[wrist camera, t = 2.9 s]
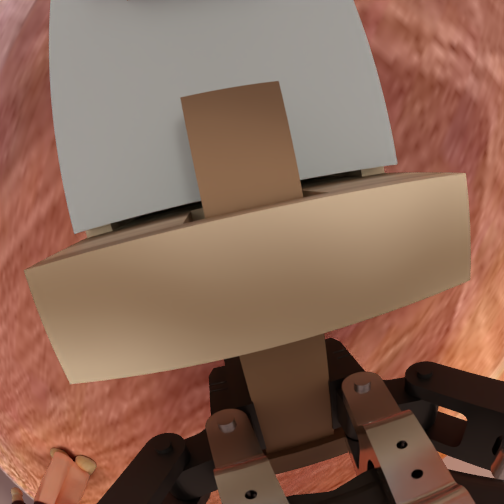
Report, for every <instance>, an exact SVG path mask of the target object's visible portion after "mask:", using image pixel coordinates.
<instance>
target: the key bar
mask: <svg viewBox="0 0 504 504" xmlns="http://www.w3.org/2000/svg"><path fill="white" fill-rule="evenodd" d="M180 99H181V104H182V110H183V115H184V120H185V125H186V130H187V135H188V140H189V145H190V150H191V155H192V160H193V164H194V169H195V174H196V179H197V183H198V188H199V192H200V197H201V202H202V206H203V211H204V215H205V219H206V218H210V217H215V216H219V215H224V214H228V213H232V212H237V211H241V210H246V209H251V208H255V207H260V206H265V205H269V204H274V203H279V202H284V201H289V200H294V199H299V198H303V193H302V188H301V182H300V177H299V172H298V167H297V162H296V157H295V152H294V147H293V142H292V137H291V133H290V128H289V123H288V119H287V114H286V110H285V106H284V101H283V97H282V93H281V88H280V84H279V81H273V82H265V83H257V84H250V85H243V86H237V87H231V88H225V89H219V90H214V91H209V92H204V93H199V94H194V95H189V96H185V97H180ZM239 357H240V361H241V365H242V368H243V372H244V376H245V379H246V383H247V386H248V390H249V394H250V397H251V401H252V402H253V403H254V407H255V410H256V414H257V417H258V421H259V424H260V428H261V431H262V435H263V438H264V441H265V445H266V448H267V449H263V450H262V451H263V453H264V454H265V455H266V456H267V458H268V461H269V463H270V465H271V467H272V469H273V471H274V473H275V474H279V473H283V472H287V471H291V470H295V469H298V468H302V467H305V466H308V465H312V464H315V463H318V462H321V461H325V460H328V459H331V458H334V457H336V456H339V455H342V454H345V453H348V449H347V446H346V443H345V439H344V430H343V429H342V427H339V428H336V429H333V428H332V417H331V406H330V395H329V385H328V380H329V373H328V363H327V354H326V345H325V337H324V333H323V334H320V335H316V336H313V337H309V338H306V339H302V340H299V341H295V342H292V343H288V344H284V345H280V346H277V347H273V348H269V349H265V350H261V351H257V352H253V353H249V354H245V355H240V356H239Z"/></svg>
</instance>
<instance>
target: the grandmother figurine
mask: <svg viewBox="0 0 504 504" xmlns="http://www.w3.org/2000/svg"><path fill="white" fill-rule="evenodd" d="M50 454H51V457H52V460H51V463H50V465H49V466H48V468H47V470H46V472H45V474H44V476H43V479H42V481H41V484H40V486H39V489H38V491H37V493H36V496H35V499H34V504H79V503H80V500H81V498H82V496H83V494H84V491H85V489H86V486H87V483H88V480H89V478H90V475H91V474H92V473H93V471H94V470H95V468H96V464H95V462H94V461H93V460H91V459H90V458H87V457H85V456H77V457H76V458H75V462H74V461H73V460H72V459H71V458H70V457H69V455H68V454H67V453H66V452H64V451H63V450H60V449H57V448H52V449H51V450H50ZM11 493H12V495H13V496H12V504H25V503H24V501H23V499H22V496H23V494H22V491H21V490H20V489H18V488H16V487H14V488H12V490H11Z"/></svg>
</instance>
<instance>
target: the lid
mask: <svg viewBox="0 0 504 504" xmlns="http://www.w3.org/2000/svg"><path fill="white" fill-rule="evenodd" d="M49 68H50V88H51V101H52V112H53V122H54V130H55V138H56V145H57V152H58V158H59V164H60V170H61V176H62V181H63V186H64V191H65V196H66V201H67V205H68V210H69V214H70V218H71V223H72V227H73V231H74V234H76V233H79V232H82V231H86V230H89V229H93V228H96V227H100V226H103V225H107V224H110V223H114V222H118V221H121V220H125V219H129V218H133V217H136V216H140V215H144V214H148V213H152V212H156V211H160V210H164V209H168V208H172V207H176V206H180V205H184V204H188V203H192V202H197V201H201V197H200V192H199V188H198V183H197V179H196V174H195V169H194V164H193V160H192V155H191V150H190V145H189V140H188V135H187V130H186V125H185V120H184V115H183V110H182V104H181V99H180V97H185V96H189V95H194V94H199V93H204V92H209V91H214V90H219V89H225V88H231V87H237V86H243V85H250V84H257V83H265V82H273V81H279V84H280V88H281V93H282V97H283V101H284V106H285V110H286V114H287V119H288V123H289V128H290V133H291V137H292V142H293V147H294V152H295V157H296V162H297V167H298V172H299V177H300V180H302V179H308V178H313V177H319V176H325V175H331V174H336V173H342V172H349V171H355V170H361V169H368V168H375V167H381V166H388V165H396V164H397V158H396V153H395V147H394V142H393V137H392V132H391V127H390V122H389V117H388V113H387V109H386V104H385V100H384V96H383V92H382V88H381V84H380V81H379V77H378V73H377V70H376V66H375V63H374V59H373V56H372V53H371V50H370V46H369V43H368V40H367V37H366V34H365V31H364V28H363V25H362V22H361V20H360V17H359V14H358V11H357V9H356V6H355V4H354V1H353V0H51V3H50V22H49Z"/></svg>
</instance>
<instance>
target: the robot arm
mask: <svg viewBox="0 0 504 504" xmlns="http://www.w3.org/2000/svg"><path fill="white" fill-rule="evenodd" d="M325 345H326V354H327V363H328V373H329V380H328V385H329V395H330V406H331V417H332V428H333V429H336V428H339V427H342V429H343V430H344V439H345V443H346V446H347V449H348V452H349V455H350V457H351V460H352V463H353V466H354V469H355V472H356V475H357V477H355V478H353V479H352V480H350V481H349V482H347V483H345V484H344V485H342V486H340V487H339V488H337V489H335V490H333V491H330V492H322V493H313V494H302V495H293V496H289V497H286V496H285V494H284V492H283V490H282V488H281V486H280V484H279V482H278V480H277V478H276V476H275V473H274V471H273V469H272V467H271V465H270V463H269V461H268V458H267V456H266V455H265V454H264V453H263V451H262V450H263V449H267V448H266V445H265V441H264V438H263V435H262V431H261V428H260V424H259V421H258V417H257V414H256V410H255V407H254V403H253V402H252V401H251V397H250V394H249V390H248V386H247V383H246V379H245V376H244V372H243V368H242V365H241V361H240V357H239V356H236V357H232V358H227V359H224V362H225V366H222V367H217V368H214V369H213V370H212V372H211V374H210V375H209V385H210V386H209V388H210V407H211V416H210V418H209V419H208V420H207V422H206V425H205V427H206V428H205V429H204V430H203V431H202V432H200V433H199V434H197V435H194V436H192V437H189V438H187V439H183V438H182V437H181V436H179V435H177V434H174V433H164V434H160V435H157V436H155V437H153V438H152V439H150V440H149V441H148V442H147V443H146V445H145V446H144V447H143V448H142V450H141V451H140V452H139V453H138V455H137V456H136V457H135V458H134V459H133V461H132V462H131V463H130V464H129V466H128V467H127V468H126V469H125V470H124V472H123V473H122V474H121V475H120V477H119V478H118V479H117V480H116V481H115V483H114V484H113V485H112V486H111V487H110V489H109V490H108V491H107V492H106V493H105V495H104V496H103V497H102V498H101V499H100V501H99V502H98V503H97V504H206V502H207V501H208V499H209V497H210V494H211V492H213V491H215V490H217V489H218V491H219V495H220V498H221V502H222V504H504V381H500V380H496V379H492V378H488V377H484V376H480V375H477V374H473V373H469V372H466V371H462V370H458V369H455V368H451V367H448V366H444V365H441V364H437V363H434V362H428V361H424V362H418V363H415V364H413V365H411V366H410V367H409V368H408V369H407V370H406V373H405V377H404V378H398V379H392V380H382V379H381V377H380V376H379V375H377V374H375V373H372V372H365V371H364V370H363V368H362V367H361V366H360V365H359V364H358V362H357V361H356V360H355V359H354V358H353V356H352V355H350V353H349V352H348V350H346V348H345V347H344V346H343V344H342V343H341V342H339V341H337V340H335V339H333V338H329V339H325ZM438 406H441V407H444V408H447V409H450V410H453V411H456V412H459V413H461V414H463V415H464V416H465V417H466V418H467V421H465V420H462V419H459V418H456V417H453V416H450V415H447V414H444V413H441V412H439V411H438ZM437 451H438V452H441V453H443V454H446V455H448V456H451V457H454V458H456V459H459V460H462V461H465V462H467V463H470V464H473V465H475V466H479V467H481V468H484V469H487V470H490V471H491V472H492V474H493V476H494V477H495V478H489V477H483V476H477V475H472V474H467V473H463V472H458V471H453V470H449V469H447V467H446V465H445V464H444V462H443V460H442V459H441V457H440V456H439V454H438V452H437Z"/></svg>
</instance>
